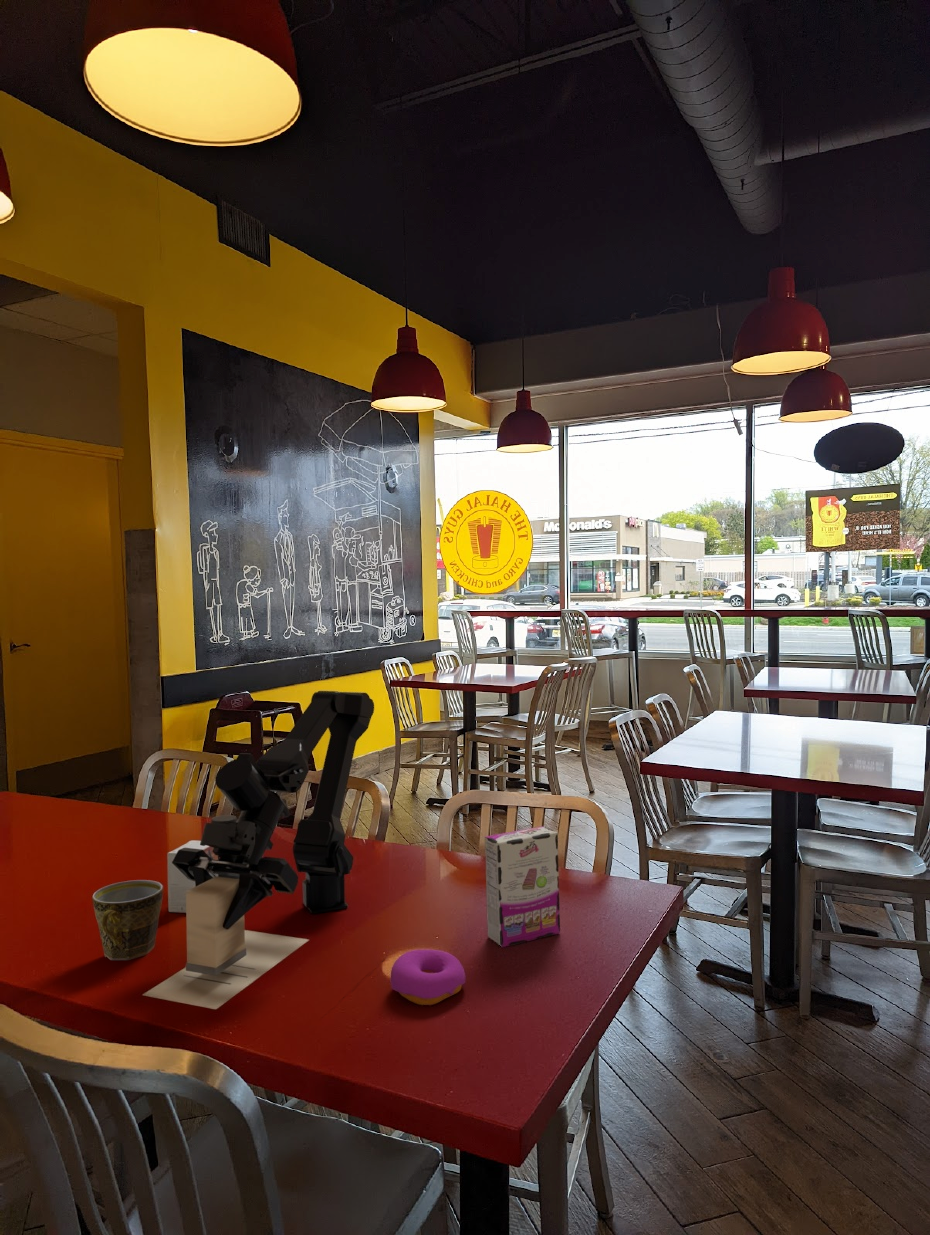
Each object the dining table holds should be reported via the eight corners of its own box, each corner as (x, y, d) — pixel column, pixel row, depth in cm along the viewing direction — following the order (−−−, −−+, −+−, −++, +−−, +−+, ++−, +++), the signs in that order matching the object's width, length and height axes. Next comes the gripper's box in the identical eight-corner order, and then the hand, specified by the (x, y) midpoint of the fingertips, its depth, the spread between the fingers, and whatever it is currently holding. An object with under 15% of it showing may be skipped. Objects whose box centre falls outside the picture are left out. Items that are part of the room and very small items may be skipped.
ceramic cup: (112, 942, 129) (111, 879, 129) (174, 942, 129) (173, 879, 129) (70, 980, 116) (69, 910, 116) (139, 980, 116) (137, 910, 116)
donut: (423, 1017, 105) (423, 982, 104) (374, 991, 112) (374, 959, 112) (479, 990, 112) (479, 957, 112) (430, 967, 119) (430, 936, 119)
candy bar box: (544, 923, 134) (542, 825, 134) (561, 934, 130) (559, 832, 130) (484, 937, 129) (483, 834, 129) (500, 948, 125) (499, 842, 124)
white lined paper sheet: (244, 935, 131) (244, 930, 131) (309, 944, 127) (309, 939, 127) (142, 1000, 110) (142, 994, 110) (216, 1015, 106) (215, 1009, 106)
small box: (196, 914, 140) (195, 854, 140) (167, 912, 141) (166, 852, 141) (219, 898, 148) (218, 840, 148) (191, 896, 149) (190, 839, 149)
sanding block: (217, 950, 119) (216, 876, 119) (246, 955, 118) (245, 879, 117) (185, 970, 113) (184, 891, 113) (215, 975, 111) (214, 895, 111)
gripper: (179, 794, 122) (126, 891, 112) (286, 803, 115) (240, 907, 105) (213, 832, 129) (166, 927, 119) (315, 843, 123) (275, 944, 113)
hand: (209, 926), depth 114 cm, fingers closed on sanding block, 5 cm apart
